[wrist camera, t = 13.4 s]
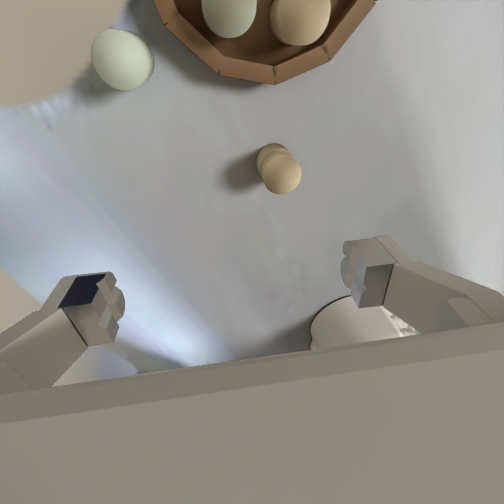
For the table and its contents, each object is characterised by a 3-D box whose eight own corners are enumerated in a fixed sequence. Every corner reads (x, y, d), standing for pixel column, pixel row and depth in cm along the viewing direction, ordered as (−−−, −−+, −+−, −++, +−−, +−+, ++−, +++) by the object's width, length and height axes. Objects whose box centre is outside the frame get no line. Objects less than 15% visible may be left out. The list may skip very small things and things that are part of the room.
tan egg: (296, 157, 34) (309, 172, 30) (274, 183, 36) (283, 201, 32) (271, 135, 32) (281, 149, 28) (249, 164, 34) (255, 180, 30)
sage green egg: (162, 54, 26) (155, 56, 22) (141, 93, 28) (131, 101, 24) (119, 19, 25) (104, 14, 21) (100, 62, 26) (82, 66, 22)
